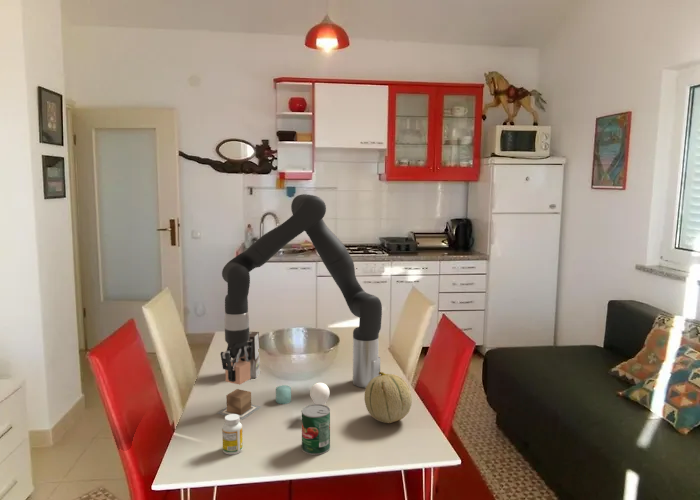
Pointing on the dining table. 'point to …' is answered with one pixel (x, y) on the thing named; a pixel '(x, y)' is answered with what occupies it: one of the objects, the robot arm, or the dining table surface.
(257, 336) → the coffee box
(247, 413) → the mat
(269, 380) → the dining table surface
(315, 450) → the canned tomato
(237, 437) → the supplement bottle
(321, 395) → the lightbulb
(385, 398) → the cantaloupe
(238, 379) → the terracotta block
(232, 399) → the walnut block
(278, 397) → the mint green capsule
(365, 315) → the robot arm
